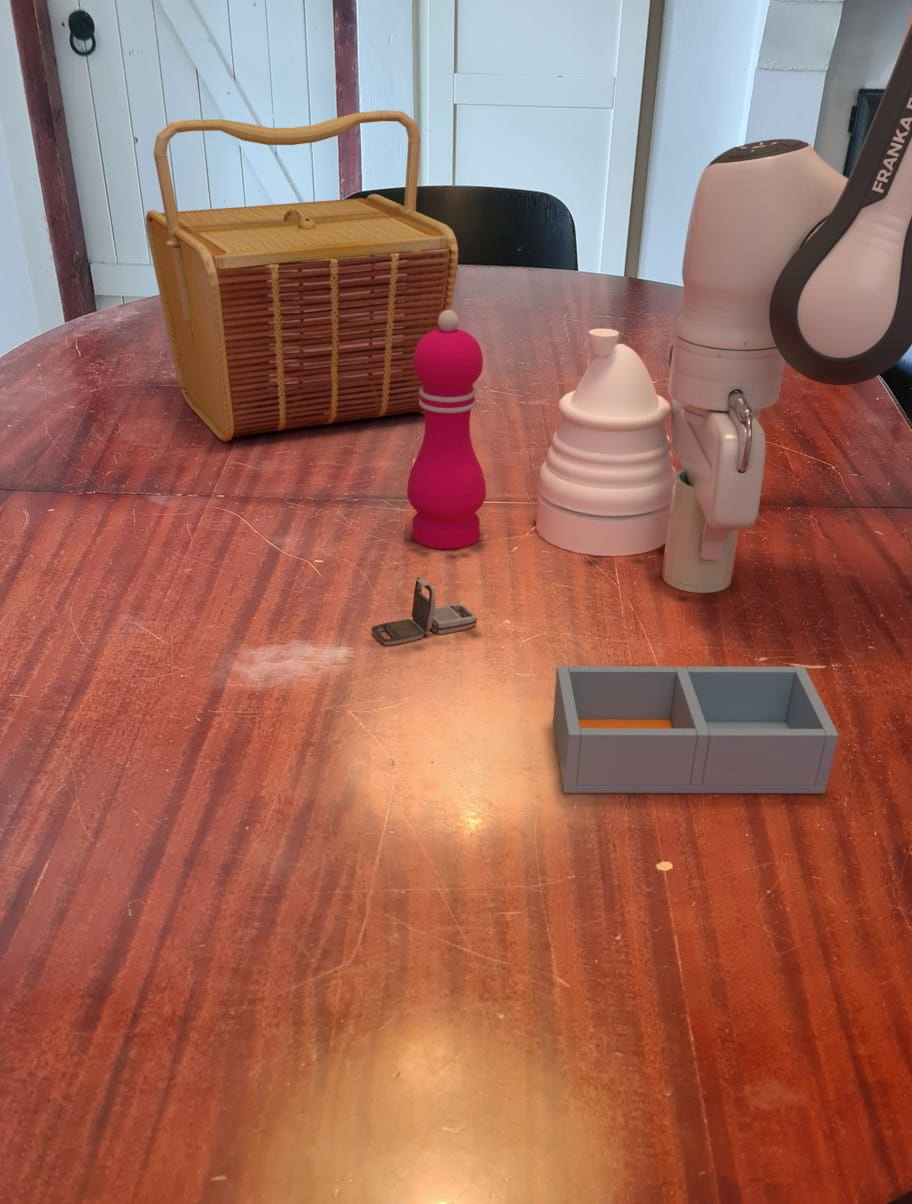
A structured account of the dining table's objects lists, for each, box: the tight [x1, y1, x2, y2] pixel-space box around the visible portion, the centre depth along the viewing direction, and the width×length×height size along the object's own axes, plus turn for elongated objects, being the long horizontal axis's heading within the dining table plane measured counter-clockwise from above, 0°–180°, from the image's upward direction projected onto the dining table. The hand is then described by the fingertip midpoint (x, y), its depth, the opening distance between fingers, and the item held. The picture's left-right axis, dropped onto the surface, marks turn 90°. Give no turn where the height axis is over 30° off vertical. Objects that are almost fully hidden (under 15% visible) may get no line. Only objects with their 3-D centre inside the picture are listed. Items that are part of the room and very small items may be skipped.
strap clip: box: [371, 576, 478, 645], centre depth 99 cm, size 8×3×4 cm, turn 116°
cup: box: [662, 468, 741, 594], centre depth 106 cm, size 6×6×9 cm
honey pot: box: [535, 328, 677, 557], centre depth 112 cm, size 13×13×18 cm
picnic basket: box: [145, 109, 459, 443], centre depth 136 cm, size 29×26×30 cm
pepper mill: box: [406, 309, 487, 550], centre depth 110 cm, size 7×7×20 cm
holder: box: [552, 665, 840, 794], centre depth 84 cm, size 17×9×5 cm, turn 90°
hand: (701, 538), depth 107 cm, fingers closed on cup, 6 cm apart
